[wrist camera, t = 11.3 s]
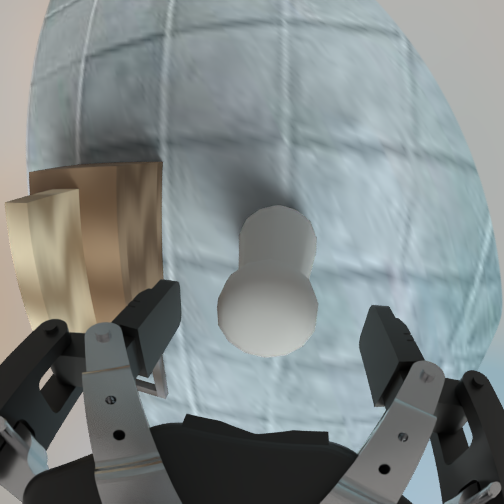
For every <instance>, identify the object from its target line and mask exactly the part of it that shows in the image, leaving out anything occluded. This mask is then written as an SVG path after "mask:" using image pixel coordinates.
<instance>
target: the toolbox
mask: <svg viewBox="0 0 504 504" xmlns="http://www.w3.org/2000/svg"><path fill="white" fill-rule="evenodd" d="M113 165H125V227H126V244H127V257H128V269H129V278H130V287H131V295H132V301H133V299H134V298H135V297H136V296H137V295H138V293H140V292H142V291H144V290H146V289H148V288H150V289H152V288H153V287H154V286H155V285H156V284H157V283H158V281H159V280H161V279H163V261H162V167H163V162H114V163H93V164H78V165H71V166H64V167H57V168H51V169H61V168H73V167H89V166H113ZM45 170H49V169H45ZM39 171H40V170H39Z"/></svg>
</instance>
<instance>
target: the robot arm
mask: <svg viewBox="0 0 504 504" xmlns="http://www.w3.org/2000/svg"><path fill="white" fill-rule="evenodd" d="M180 321H181V299H180V285H179V282H177V281H171V280H164V279H161V280H159V281H158V283H157V284H156V285H155V286H154V287H153V288H152V289H150V288H148V289H146V290H144V291H142V292H140V293H138V295H137V296H136V297H135V298H134V299H133V301H131V302H130V303H129V304H128V306H126V307H125V308H124V309H123V310H122V311H121V312H120V313H119V314H118V315H117V316H116V318H115V319H114V320H113V321H112V322H102V323H98V324H95V325H93V326H91V327H90V328H89V329H88V330H87V331H86V333H76V332H69V329H68V326H67V323H66V322H65V321H63V320H61V319H51V320H47V321H45V322H43V323H41V324H40V325H39V326H38V327H37V328H36V329H35V330H34V331H33V332H32V333H31V334H30V335H29V336H28V337H27V338H26V339H25V340H24V341H23V342H22V343H21V344H20V345H19V346H18V347H17V348H16V349H15V350H14V351H13V352H12V353H11V354H10V355H9V356H8V357H7V358H6V359H5V361H3V363H2V364H1V365H0V485H1V486H3V487H4V488H5V489H7V490H8V491H9V492H10V493H11V494H12V495H14V496H15V497H16V498H17V499H19V500H20V501H21V502H22V503H23V504H412V503H411V502H410V501H409V500H408V499H407V498H405V497H404V496H403V495H402V494H403V492H404V490H405V488H406V487H407V485H408V483H409V481H410V479H411V477H412V475H413V474H414V472H415V470H416V467H417V466H418V463H419V461H420V459H421V457H422V455H423V453H424V450H425V448H426V446H427V443H428V441H429V439H430V440H431V444H432V448H433V453H434V457H435V462H436V466H437V471H438V477H439V483H440V489H441V496H442V502H443V504H504V409H503V407H502V405H501V403H500V401H499V399H498V397H497V395H496V393H495V391H494V389H493V387H492V386H491V384H490V382H489V380H488V379H487V377H485V375H483V374H482V373H480V372H478V371H474V370H470V371H467V372H465V374H464V375H463V377H462V378H461V380H454V379H449V378H445V375H444V373H443V371H442V370H441V368H440V367H438V366H437V365H436V364H434V363H432V362H429V361H425V360H424V358H423V356H422V354H421V352H420V350H419V348H418V346H417V344H416V342H415V341H414V339H413V337H412V335H410V334H411V333H410V331H409V329H408V328H407V326H406V325H405V324H404V323H403V322H402V321H401V320H400V319H399V318H395V316H394V314H393V313H392V311H391V309H390V307H389V306H379V305H372V306H371V307H370V309H369V311H368V314H367V318H366V321H365V324H364V327H363V330H362V333H361V336H360V341H359V348H360V352H361V356H362V360H363V363H364V367H365V371H366V375H367V378H368V382H369V386H370V390H371V394H372V399H373V403H374V407H384V406H385V408H386V411H385V413H384V414H383V416H382V417H381V419H380V421H379V422H378V424H377V425H376V427H375V428H374V430H373V431H372V433H371V434H370V436H369V437H368V439H367V440H366V441H365V443H364V444H363V446H362V447H361V448H360V450H359V451H358V452H357V454H356V453H355V452H354V451H352V450H350V449H349V448H347V447H344V446H342V445H340V444H337V443H334V442H330V441H329V437H328V432H320V431H297V430H292V431H285V432H276V433H266V434H254V433H251V432H248V431H245V430H242V429H240V428H237V427H234V426H232V425H229V424H227V423H224V422H222V421H218V420H213V419H208V418H203V417H198V416H194V415H190V414H186V416H185V419H184V421H183V423H167V424H161V425H157V426H153V427H151V428H150V426H149V423H148V420H147V417H146V414H145V412H144V409H143V406H142V402H141V399H140V396H139V393H138V390H137V386H136V383H135V379H136V377H137V376H138V375H140V376H143V377H147V378H149V376H150V374H151V373H152V371H153V369H154V367H155V366H156V364H157V362H158V361H159V359H160V357H161V356H162V354H163V352H164V350H165V349H166V347H167V345H168V344H169V342H170V340H171V339H172V337H173V335H174V334H175V332H176V330H177V329H178V327H179V325H180ZM50 367H51V369H52V371H53V375H52V376H51V377H50V379H49V380H48V381H47V382H46V384H45V385H44V387H43V388H42V389H41V390H40V389H39V382H40V380H41V378H42V377H43V375H44V374H45V373H46V372H47V370H48V369H49V368H50ZM82 392H83V394H84V404H85V411H86V419H87V425H88V431H89V437H90V442H91V447H92V452H93V454H90V455H88V456H85V457H83V458H80V459H77V460H75V461H72V462H69V463H67V464H64V465H61V466H58V467H55V468H52V469H49V468H48V465H47V453H46V450H47V449H48V447H49V445H50V443H51V442H52V440H53V438H54V437H55V435H56V433H57V432H58V430H59V428H60V427H61V425H62V423H63V422H64V420H65V419H66V417H67V415H68V414H69V412H70V410H71V409H72V407H73V406H74V404H75V403H76V401H77V399H78V398H79V396H80V395H81V393H82ZM467 421H468V423H469V426H470V429H471V432H472V436H473V439H472V443H471V445H470V447H469V446H468V443H467V440H466V437H465V434H464V431H463V428H462V427H463V426H464V424H465V423H466V422H467Z"/></svg>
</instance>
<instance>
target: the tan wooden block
mask: <svg viewBox="0 0 504 504" xmlns="http://www.w3.org/2000/svg"><path fill="white" fill-rule="evenodd" d="M29 184H30V195H29V196H25V197H22V198H19V199H15V200H12V201H9V202H5V211H6V221H7V229H8V236H9V241H10V248H11V253H12V259H13V263H14V268H15V272H16V277H17V281H18V285H19V289H20V292H21V296H22V299H23V303H24V306H25V309H26V313H27V316H28V319H29V322H30V325H31V327H32V330H33V331H34V330H35V329H36V328H37V327H38V326H39V325H40V324H41V323H43V322H45V321H47V320H51V319H61V320H63V321H65V322H66V323H67V326H68V329H69V332H76V333H86V331H87V330H88V329H89V328H90V327H91V326H93V325H95V324H98V323H102V322H112V321H113V320H114V319H115V318H116V316H117V315H118V314H119V313H120V312H121V311H122V310H123V309H124V308H125V307H126V306H128V304H129V303H130V302H131V301H132V295H131V287H130V278H129V269H128V257H127V244H126V227H125V165H113V166H89V167H73V168H61V169H49V170H40V171H33V172H29ZM152 372H153V377H154V381H155V384H152V383H149V382H145V381H142V380H139V379H135V383H136V386H137V390H138V391H141V392H144V393H147V394H151V395H154V396H157V397H161V398H164V399H166V397H167V395H168V388H167V382H166V376H165V370H164V364H163V357H162V356H161V357H160V359H159V361H158V362H157V364H156V366H155V367H154V369H153V371H152Z"/></svg>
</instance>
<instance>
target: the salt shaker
mask: <svg viewBox="0 0 504 504" xmlns="http://www.w3.org/2000/svg"><path fill="white" fill-rule="evenodd" d="M316 242H317V237H316V235H315V232H314V229H313V227H312V224H311V222H310V221H309V220H308V219H307V218H306V217H304V216H303V215H302V214H301V213H300V212H298V211H297V210H295V209H292V208H288V207H285V206H281V205H275V206H270V207H266V208H261V209H259V210H258V211H257V212H255V213H254V214H253V215H251V216H250V217H248V218H247V219H246V221H245V223H244V225H243V227H242V229H241V232H240V234H239V269H238V270H237V271H236V272H234V273H233V274H231V275H230V277H229V278H228V280H227V281H226V283H225V285H224V288H223V290H222V292H221V294H220V296H219V298H218V304H217V312H218V326H219V327H220V329H221V330H222V332H223V333H224V335H225V336H226V338H227V340H228V341H229V342H230V343H232V344H233V345H235V346H236V347H237V348H239V349H240V350H242V351H243V352H245V353H248V354H252V355H256V356H261V357H276V356H285V355H287V354H289V353H291V352H293V351H295V350H297V349H298V348H300V347H302V346H303V345H304V344H305V343H306V341H307V340H308V339H309V338H310V336H311V335H312V334H313V332H314V331H315V326H316V319H317V311H318V301H317V298H316V295H315V293H314V290H313V288H312V286H311V283H310V281H309V277H310V274H311V270H312V266H313V263H314V259H315V255H316Z"/></svg>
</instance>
